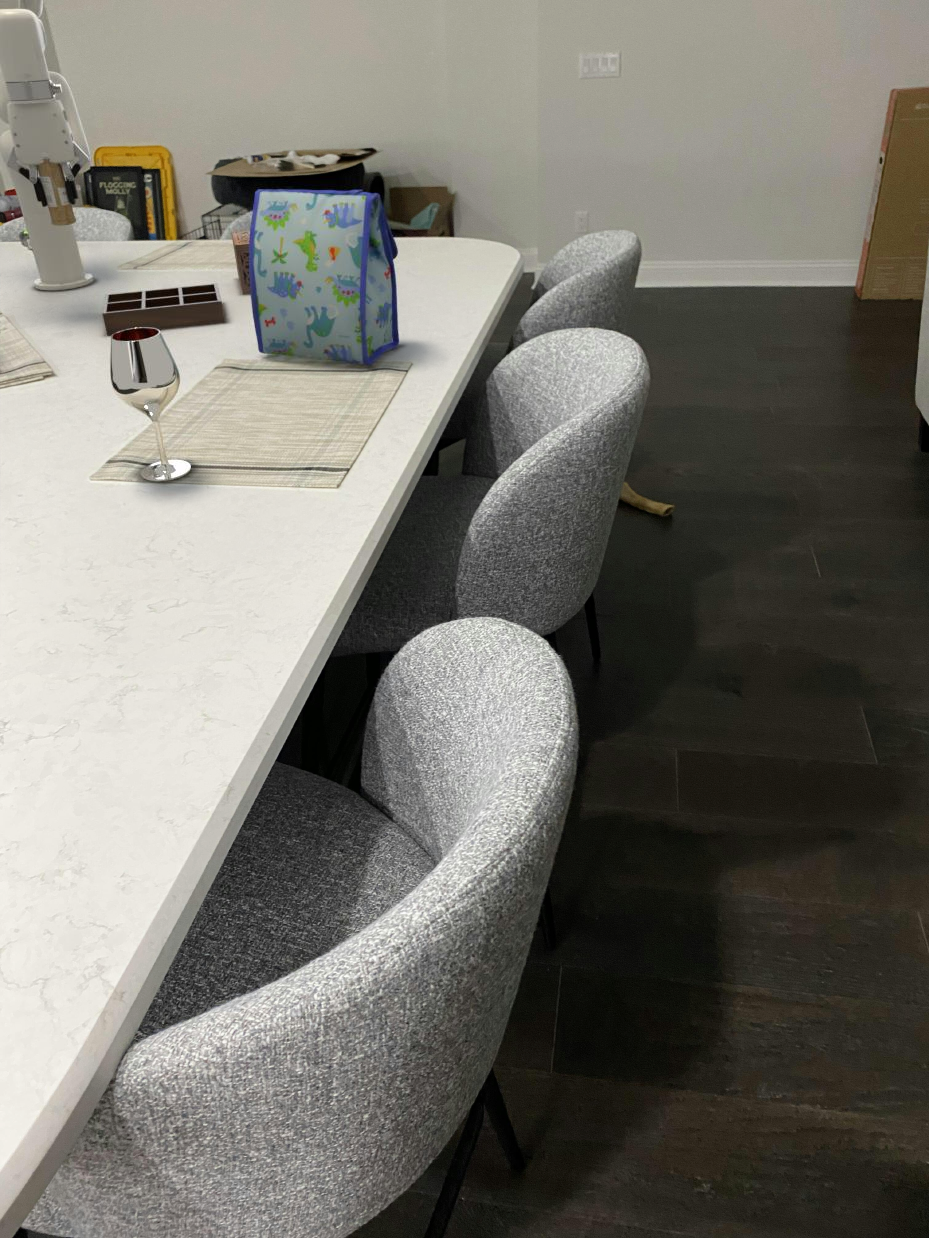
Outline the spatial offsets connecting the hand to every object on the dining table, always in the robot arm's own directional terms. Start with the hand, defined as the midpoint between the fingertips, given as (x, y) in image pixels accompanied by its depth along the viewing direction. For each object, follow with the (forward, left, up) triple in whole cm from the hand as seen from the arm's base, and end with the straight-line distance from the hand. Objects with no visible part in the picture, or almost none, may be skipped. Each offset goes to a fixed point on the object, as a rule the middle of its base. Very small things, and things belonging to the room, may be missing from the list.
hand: (59, 203), depth 173 cm
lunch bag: (+39, +43, -22) cm, 62 cm away
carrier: (+6, +15, -21) cm, 27 cm away
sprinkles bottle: (0, 0, -4) cm, 4 cm away
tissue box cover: (-14, +44, -22) cm, 51 cm away
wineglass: (+82, +14, -22) cm, 86 cm away
